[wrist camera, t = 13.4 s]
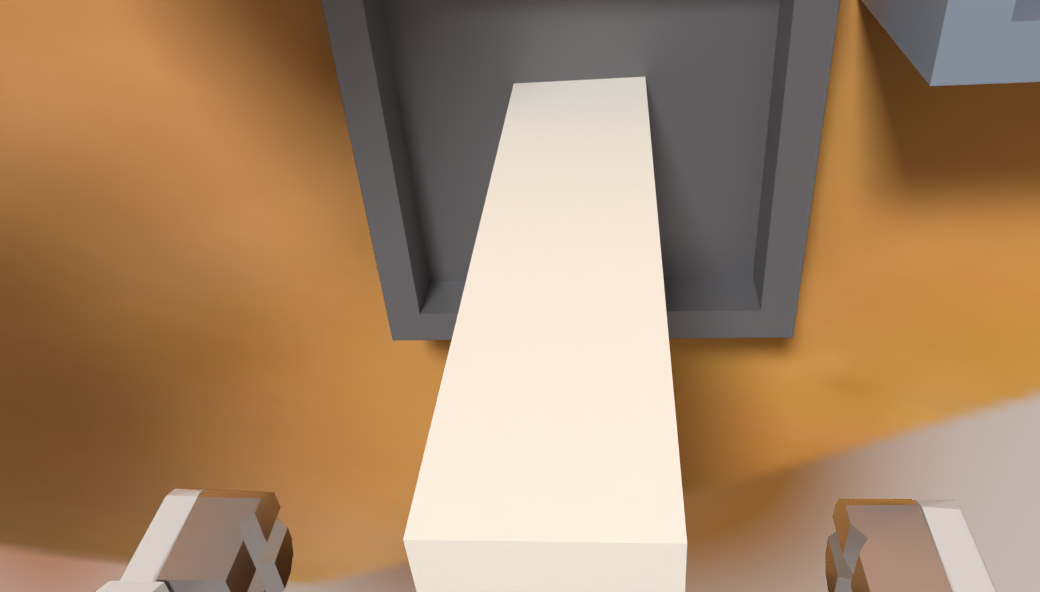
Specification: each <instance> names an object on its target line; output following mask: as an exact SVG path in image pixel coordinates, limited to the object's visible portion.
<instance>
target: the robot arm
mask: <svg viewBox="0 0 1040 592" xmlns="http://www.w3.org/2000/svg"><path fill="white" fill-rule="evenodd" d="M280 508H281V507H280V505H279V502H278V500H277V498H276V495H275V493H273V492H258V491H234V490H210V489H174V490H173V491H171V492H170V493H169V494H168V495H167V496H166V497H165V498H164V500H163V502H162V504H161V505H160V507H159V509H158V511H157V513H156V515H155V516H154V518H153V520H152V522H151V524H150V526H149V527H148V529H147V531H146V533H145V535H144V537H143V538H142V540H141V542H140V544H139V546H138V547H137V549H136V551H135V553H134V555H133V557H132V558H131V560H130V562H129V564H128V566H127V568H126V570H125V572H124V573H123V575H122V577H121V579H120V580H110V581H109V582H107V583H106V584H105V585H103V586H102V587H101V588H99V589H98V590H97V591H95V592H282V591H283V590H284V589H285V587H286V584H287V581H288V578H289V575H290V572H291V565H292V557H293V546H292V538H291V535H290V532H289V529H288V527H287V526H286V525H285V524H283V523H282V522H281V521H279V520H278V519H277V515H278V513H279V510H280ZM833 519H834V523H835V527H836V532H835V533H833V534H832V535H831V536H829V537H828V542H827V548H826V578H827V585H828V591H829V592H997V591H996V589H995V586H994V584H993V582H992V579H991V577H990V575H989V572H988V570H987V568H986V565H985V563H984V561H983V559H982V556H981V554H980V552H979V549H978V547H977V545H976V542H975V540H974V538H973V536H972V533H971V531H970V529H969V526H968V524H967V522H966V519H965V517H964V515H963V512H962V510H961V508H960V506H959V505H958V504H957V503H956V502H955V501H954V500H912V499H839V500H838V502H837V503H836V505H835V509H834V514H833Z"/></svg>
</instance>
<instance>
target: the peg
mask: <svg viewBox="0 0 1040 592" xmlns="http://www.w3.org/2000/svg"><path fill="white" fill-rule="evenodd" d="M403 541H404V544H405V548H406V552H407V556H408V560H409V564H410V568H411V571H412V575H413V579H414V583H415V587H416V591H417V592H685V582H686V561H687V558H686V557H687V536H686V524H685V514H684V502H683V491H682V480H681V469H680V457H679V446H678V435H677V424H676V413H675V402H674V391H673V379H672V368H671V357H670V346H669V335H668V324H667V312H666V301H665V290H664V279H663V268H662V257H661V246H660V234H659V223H658V212H657V201H656V190H655V179H654V167H653V156H652V145H651V134H650V123H649V112H648V101H647V89H646V78H645V77H629V78H610V79H590V80H571V81H552V82H532V83H514V84H513V88H512V93H511V97H510V101H509V105H508V109H507V113H506V117H505V122H504V126H503V130H502V134H501V138H500V142H499V146H498V150H497V155H496V159H495V163H494V167H493V171H492V175H491V179H490V183H489V188H488V192H487V196H486V200H485V204H484V208H483V212H482V216H481V221H480V225H479V229H478V233H477V237H476V241H475V245H474V250H473V254H472V258H471V262H470V266H469V270H468V274H467V278H466V283H465V287H464V291H463V295H462V299H461V303H460V307H459V311H458V316H457V320H456V324H455V328H454V332H453V336H452V340H451V344H450V349H449V353H448V357H447V361H446V365H445V369H444V373H443V378H442V382H441V386H440V390H439V394H438V398H437V402H436V406H435V411H434V415H433V419H432V423H431V427H430V431H429V435H428V439H427V444H426V448H425V452H424V456H423V460H422V464H421V468H420V472H419V477H418V481H417V485H416V489H415V493H414V497H413V501H412V506H411V510H410V514H409V518H408V522H407V526H406V530H405V534H404V539H403Z"/></svg>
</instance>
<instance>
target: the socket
mask: <svg viewBox="0 0 1040 592" xmlns="http://www.w3.org/2000/svg"><path fill="white" fill-rule="evenodd" d="M861 1H862V2H863V3H864V4H865V6H866V7H867V8H868V9H869V11H870V12H871V13H872V14H873V16H874V17H875V18H876V19H877V21H878V22H879V23H880V24H881V26H882V27H883V28H884V29H885V31H886V32H887V33H888V34H889V36H890V37H891V38H892V39H893V41H894V42H895V43H896V44H897V46H898V47H899V48H900V49H901V51H902V52H903V53H904V54H905V56H906V57H907V58H908V59H909V61H910V62H911V63H912V64H913V66H914V67H915V68H916V69H917V71H918V72H919V73H920V74H921V76H922V77H923V78H924V79H925V81H926V82H927V83H928V84H929V86H946V85H972V84H997V83H1022V82H1040V0H861Z"/></svg>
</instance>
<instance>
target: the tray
mask: <svg viewBox="0 0 1040 592" xmlns="http://www.w3.org/2000/svg"><path fill="white" fill-rule="evenodd" d="M321 2H322V7H323V11H324V16H325V21H326V26H327V30H328V35H329V40H330V45H331V49H332V54H333V59H334V64H335V68H336V73H337V78H338V83H339V87H340V92H341V97H342V102H343V106H344V111H345V116H346V121H347V125H348V130H349V135H350V140H351V144H352V149H353V154H354V159H355V163H356V168H357V173H358V178H359V182H360V187H361V192H362V197H363V201H364V206H365V211H366V216H367V220H368V225H369V230H370V235H371V239H372V244H373V249H374V254H375V258H376V263H377V268H378V273H379V277H380V282H381V287H382V292H383V296H384V301H385V306H386V311H387V315H388V320H389V325H390V330H391V334H392V339H393V340H452V336H453V332H454V328H455V324H456V320H457V316H458V311H459V307H460V303H461V299H462V295H463V291H464V287H465V283H466V278H467V274H468V270H469V266H470V262H471V258H472V254H473V250H474V245H475V241H476V237H477V233H478V229H479V225H480V221H481V216H482V212H483V208H484V204H485V200H486V196H487V192H488V188H489V183H490V179H491V175H492V171H493V167H494V163H495V159H496V155H497V150H498V146H499V142H500V138H501V134H502V130H503V126H504V122H505V117H506V113H507V109H508V105H509V101H510V97H511V93H512V88H513V84H514V83H532V82H552V81H571V80H590V79H610V78H629V77H645V78H646V89H647V101H648V112H649V123H650V134H651V145H652V156H653V167H654V179H655V190H656V201H657V212H658V223H659V234H660V246H661V257H662V268H663V279H664V290H665V301H666V312H667V324H668V335H669V338H793V333H794V326H795V319H796V312H797V305H798V297H799V290H800V283H801V276H802V269H803V262H804V254H805V247H806V240H807V233H808V226H809V219H810V211H811V204H812V197H813V190H814V183H815V175H816V168H817V161H818V154H819V147H820V140H821V132H822V125H823V118H824V111H825V104H826V97H827V89H828V82H829V75H830V68H831V61H832V53H833V46H834V39H835V32H836V25H837V18H838V10H839V3H840V0H321Z"/></svg>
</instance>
